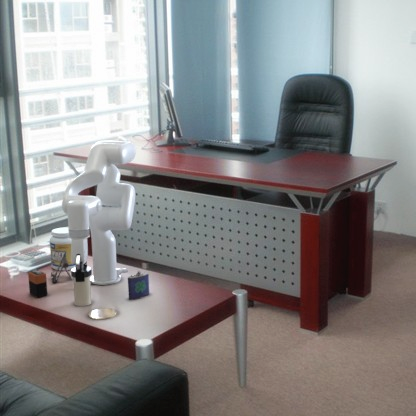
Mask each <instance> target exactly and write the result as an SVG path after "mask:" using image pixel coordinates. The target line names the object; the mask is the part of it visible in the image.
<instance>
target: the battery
mask: <svg viewBox="0 0 416 416" xmlns="http://www.w3.org/2000/svg"><path fill="white" fill-rule="evenodd" d="M27 275H28V276H27V277H28V288H29V289H28V290H29V294H30V295H32V296H34V297H35V298H36V299H37V298H42V297H46V296H48V282H47V273H45V272H43V271H42V270H39V269H37V268H33V269H32V270H31V271H28V274H27Z"/></svg>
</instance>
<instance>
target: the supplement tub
mask: <svg viewBox="0 0 416 416" xmlns="http://www.w3.org/2000/svg"><path fill="white" fill-rule="evenodd" d="M49 249H50V265H51V268H52V269H54V270H55V271H57V269H58V266H59V264H60V262H61V259H62V258H63V257H66V258H67V262H68V265H69V266H68V267H67V268H66V269H67V270H68V271H71V269H72V268H75V264H74V265H72V264H71V239H70V238H69V230H68V226H66V227H65V226H63V227H58V228H53V229H52V230H51V236H50V237H49ZM75 263H76V262H75ZM61 267H62V263H61V265H60V268H59V270H58V271H60V269H61ZM62 271H66V270H65V268H63V269H62Z"/></svg>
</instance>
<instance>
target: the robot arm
mask: <svg viewBox="0 0 416 416" xmlns="http://www.w3.org/2000/svg"><path fill="white" fill-rule="evenodd" d="M136 149H137V148H136V146H135V144H134V143H133V142H132V141H128V140H127V141H126V140H125V141H124V140H120V141H119V140H99V141H97V142H95V144H93V145H92V146H91V147H90V150H89V152H88V157H87V159H86V163H85V166H84V170H83V172H81V173H80V174H79V175H77V176H76V177H75V178H73V180H72V181H70V182H69V183H68V185H67V186H66V188H65V191H64V193H63V197H62V200H61V201H62V202H61V209H62V212H63V213H64V214H65V215H67V227H68V230H69V238H70V239H71V264H72V265H74V264H75V279H76V282H84V281H85V276H84V271H83V266H87V267H88V263H87V262H88V261H87V260H88V256H89V245H88V239H89V238H90V237H91V253H92V255H91V256H92V275H91V276H90V284H93V285H98V286H108V285H114V284H116V283H119V282H120V281H121V280H122V276H121V275H122V274H127V273H128V272H129V270H128V268H122V267H119V268H118V266H117V265H118V263H117V243H116V242H117V241H116V237H115V235H114V233H113V232H112V231H118V232H119V231H120V232H121V231H123V232H124V231H128V230H129V229H131V226H132V222H133V218H134V211H135V204H136V190H135V189H136V188H135V187H134V186H133V185H132V184H130V183H121V171H120V170H119V168H118V167H117V165H118V166H122V165H126V164H129V163H132V161H133V160H134V159H135V157H136V154H137V150H136ZM94 186H97V188H96V192H95V195H80V194H79V193H80V192H82V191H84V190H86V189H90V188H92V187H94ZM75 262H76V263H75ZM81 266H82V267H81Z"/></svg>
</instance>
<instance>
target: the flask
mask: <svg viewBox="0 0 416 416" xmlns="http://www.w3.org/2000/svg"><path fill="white" fill-rule="evenodd" d="M149 275H150V274H149V272H143V273H142V272H141V271H140V270H137V273H136V274H134V275H132V274H130V275H129V276H128V277H127V289H128V291H127V292H128V300H129V301H133V300H134V301H135V300H138V299H141V298H142V299H143V298H145V297H148V296H149V295H150V277H149Z"/></svg>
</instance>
